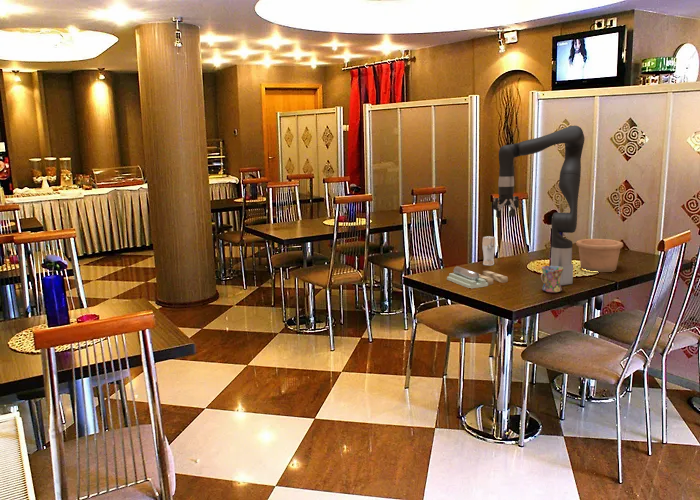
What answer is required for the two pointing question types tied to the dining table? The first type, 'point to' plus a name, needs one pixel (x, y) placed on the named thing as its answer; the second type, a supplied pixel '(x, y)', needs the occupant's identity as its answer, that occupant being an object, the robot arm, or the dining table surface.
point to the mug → (551, 278)
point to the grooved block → (466, 281)
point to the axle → (466, 273)
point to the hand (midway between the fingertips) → (505, 217)
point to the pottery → (599, 254)
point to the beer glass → (488, 250)
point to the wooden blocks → (493, 277)
